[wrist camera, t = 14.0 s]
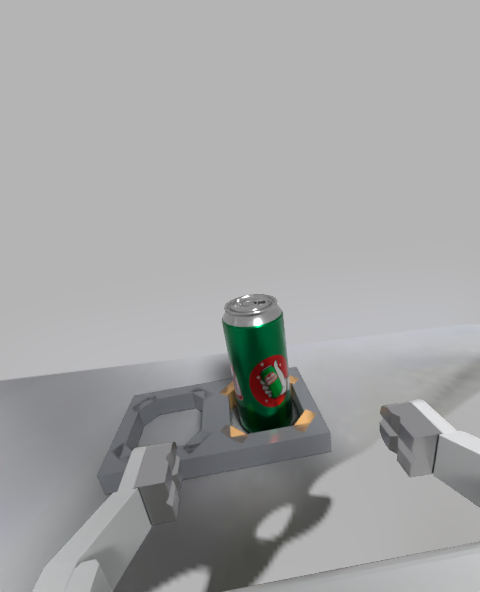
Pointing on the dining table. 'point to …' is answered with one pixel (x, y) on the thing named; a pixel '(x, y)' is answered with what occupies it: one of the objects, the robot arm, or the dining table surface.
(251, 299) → the soda can
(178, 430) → the dining table surface
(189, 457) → the socket board
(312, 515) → the dining table surface
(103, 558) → the robot arm
